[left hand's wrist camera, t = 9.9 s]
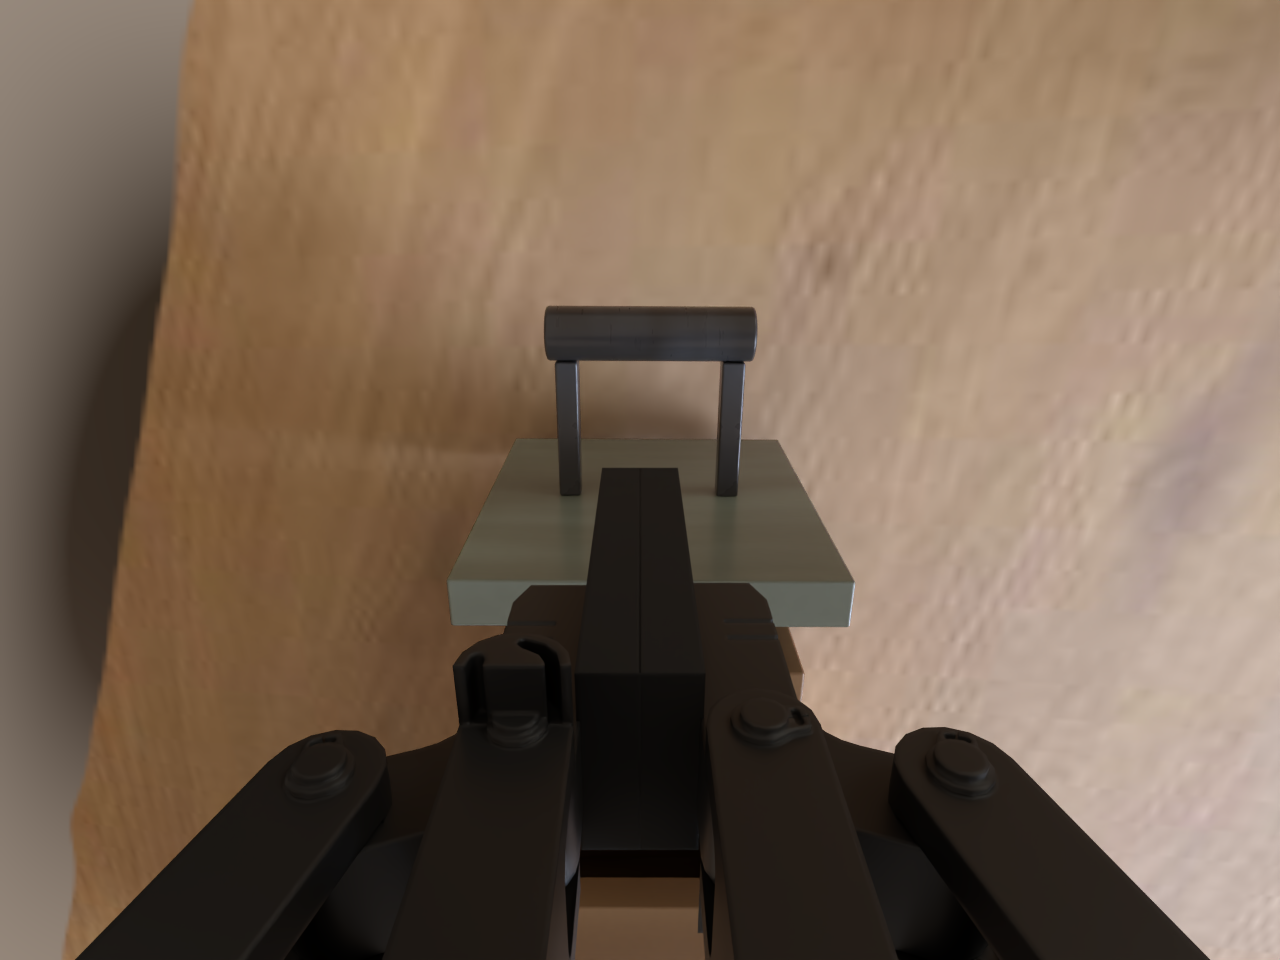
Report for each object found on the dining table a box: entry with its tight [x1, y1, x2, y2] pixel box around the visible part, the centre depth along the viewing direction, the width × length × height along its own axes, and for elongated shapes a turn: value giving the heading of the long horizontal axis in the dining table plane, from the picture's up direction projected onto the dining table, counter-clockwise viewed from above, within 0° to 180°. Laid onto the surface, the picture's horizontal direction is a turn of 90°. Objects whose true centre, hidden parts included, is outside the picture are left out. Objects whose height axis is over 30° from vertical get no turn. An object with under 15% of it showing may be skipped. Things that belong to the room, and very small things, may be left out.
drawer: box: [447, 306, 855, 878], centre depth 23 cm, size 24×9×10 cm, turn 0°
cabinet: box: [575, 877, 705, 960], centre depth 28 cm, size 20×10×12 cm, turn 0°
